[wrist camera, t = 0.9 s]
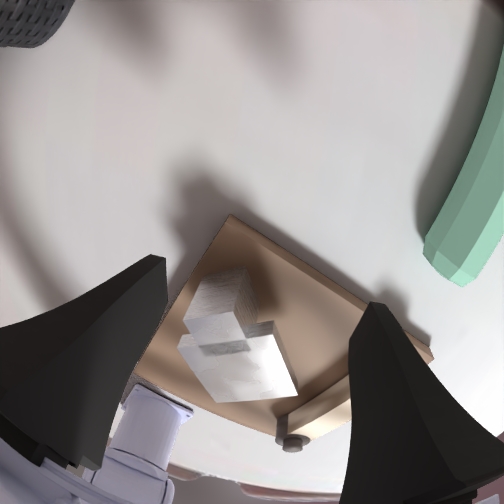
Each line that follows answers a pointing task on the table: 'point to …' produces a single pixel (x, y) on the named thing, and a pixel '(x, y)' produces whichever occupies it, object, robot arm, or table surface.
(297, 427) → the link
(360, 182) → the table surface
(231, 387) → the plate
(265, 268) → the board
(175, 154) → the table surface
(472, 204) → the green octagonal bar
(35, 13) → the storage bin
